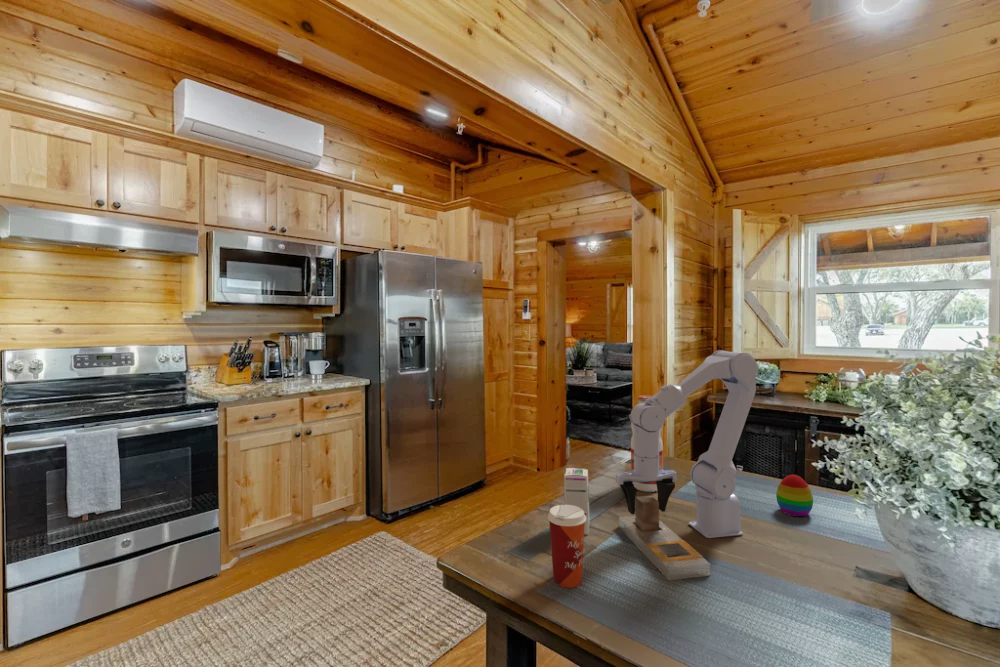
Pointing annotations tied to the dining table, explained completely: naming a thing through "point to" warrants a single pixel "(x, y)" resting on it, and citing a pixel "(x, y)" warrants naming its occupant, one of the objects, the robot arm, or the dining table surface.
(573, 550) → the paper cup
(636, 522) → the walnut peg
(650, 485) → the fruit juice
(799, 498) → the decorative egg
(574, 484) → the syrup box
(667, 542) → the grey rail
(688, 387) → the robot arm
